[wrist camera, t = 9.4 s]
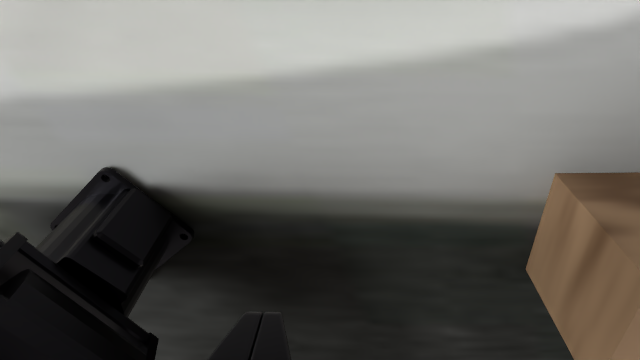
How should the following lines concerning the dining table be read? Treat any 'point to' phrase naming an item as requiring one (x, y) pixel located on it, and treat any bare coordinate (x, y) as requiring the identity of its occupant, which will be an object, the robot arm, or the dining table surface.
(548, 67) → the dining table surface
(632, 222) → the walnut block
